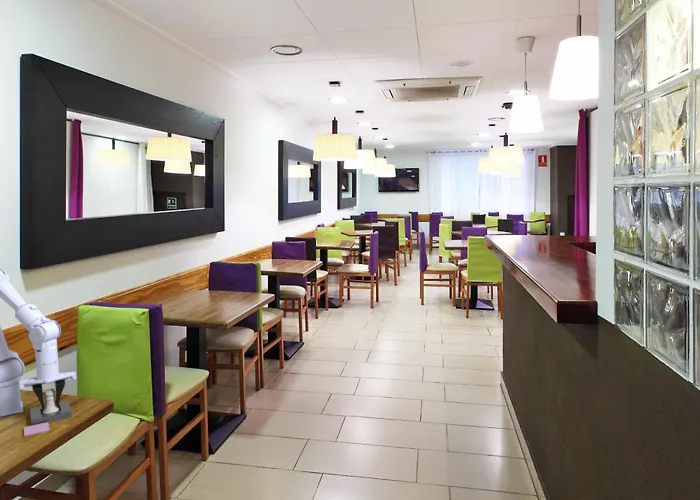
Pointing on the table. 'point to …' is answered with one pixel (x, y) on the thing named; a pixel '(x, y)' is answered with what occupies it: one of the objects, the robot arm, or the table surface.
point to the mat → (36, 429)
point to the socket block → (50, 414)
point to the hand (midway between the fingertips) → (50, 406)
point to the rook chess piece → (50, 402)
